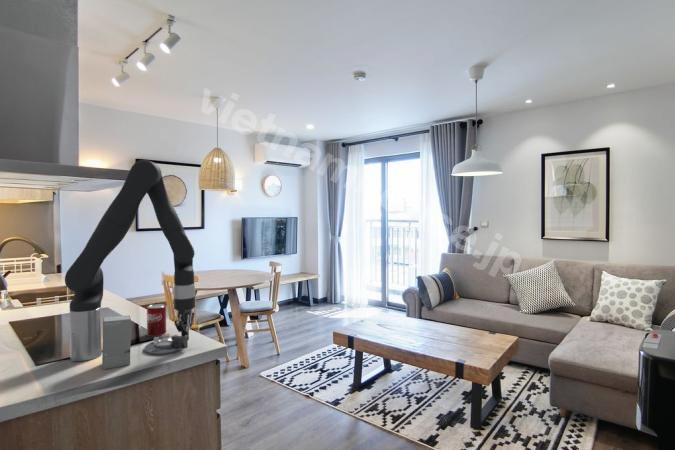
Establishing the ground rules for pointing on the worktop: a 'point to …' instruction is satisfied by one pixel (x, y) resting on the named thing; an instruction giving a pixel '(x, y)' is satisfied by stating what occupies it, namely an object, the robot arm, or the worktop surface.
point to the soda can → (156, 320)
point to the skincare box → (116, 341)
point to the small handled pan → (170, 341)
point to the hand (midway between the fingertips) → (185, 340)
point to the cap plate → (160, 350)
